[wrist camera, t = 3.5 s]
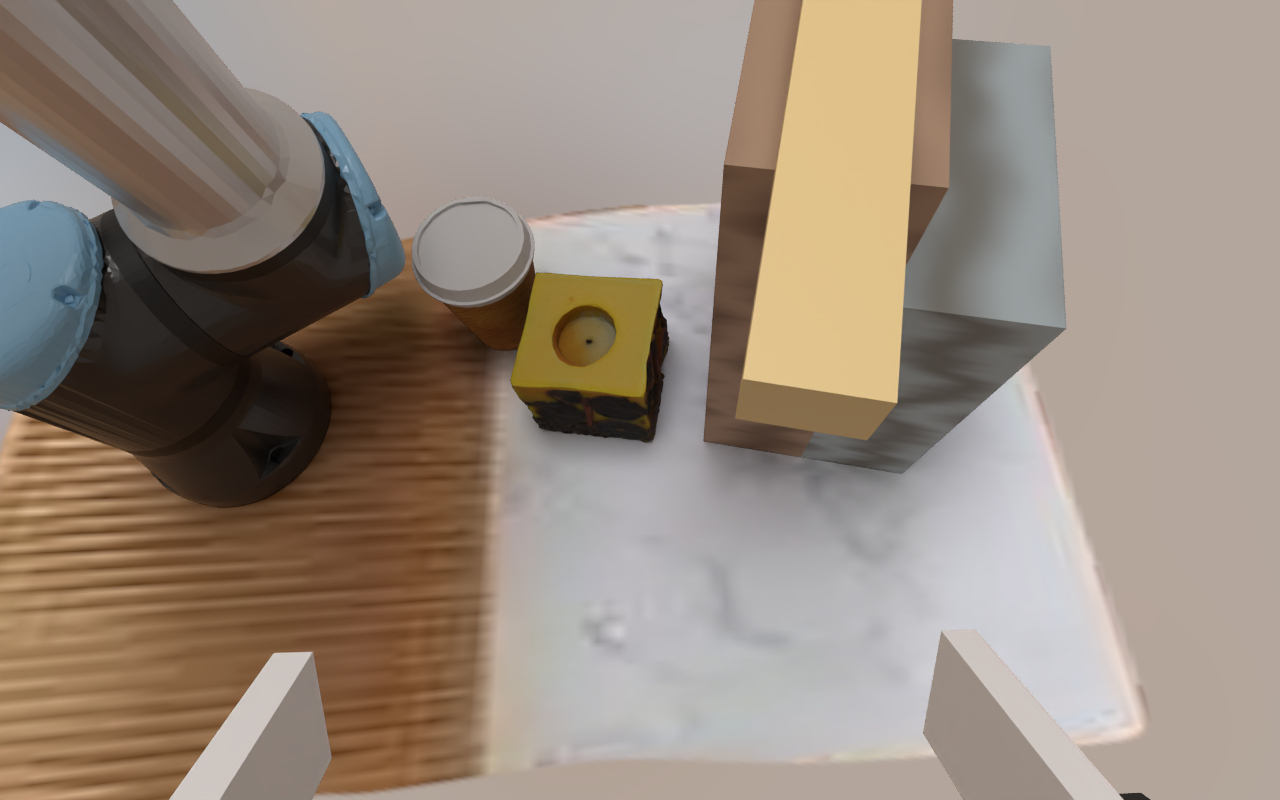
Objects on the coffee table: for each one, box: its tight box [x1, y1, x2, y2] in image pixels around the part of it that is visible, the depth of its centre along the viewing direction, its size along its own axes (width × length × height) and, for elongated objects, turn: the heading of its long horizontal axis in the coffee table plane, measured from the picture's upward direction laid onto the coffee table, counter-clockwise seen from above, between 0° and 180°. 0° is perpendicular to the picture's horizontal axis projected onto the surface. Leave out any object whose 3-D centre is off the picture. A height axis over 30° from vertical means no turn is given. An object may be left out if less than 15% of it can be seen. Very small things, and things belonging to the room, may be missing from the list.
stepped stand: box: [704, 0, 1066, 474], centre depth 41 cm, size 16×18×32 cm
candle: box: [510, 273, 669, 442], centre depth 51 cm, size 10×10×10 cm
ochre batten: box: [735, 0, 922, 440], centre depth 23 cm, size 4×28×3 cm, turn 168°
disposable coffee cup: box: [412, 196, 535, 351], centre depth 53 cm, size 10×10×12 cm
